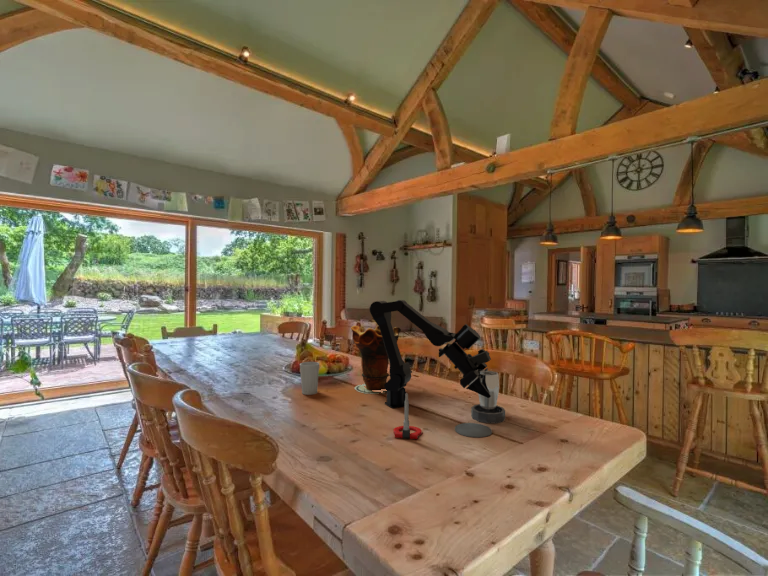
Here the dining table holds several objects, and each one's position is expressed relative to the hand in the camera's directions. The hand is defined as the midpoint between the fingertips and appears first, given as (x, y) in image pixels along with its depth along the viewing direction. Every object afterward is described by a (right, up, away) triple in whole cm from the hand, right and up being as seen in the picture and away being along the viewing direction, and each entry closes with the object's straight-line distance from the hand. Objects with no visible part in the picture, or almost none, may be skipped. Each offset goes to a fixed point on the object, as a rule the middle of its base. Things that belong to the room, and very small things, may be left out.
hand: (492, 393), depth 129 cm
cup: (-67, -8, +32) cm, 74 cm away
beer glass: (-1, -8, +1) cm, 9 cm away
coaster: (-9, -8, -11) cm, 16 cm away
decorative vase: (-40, -8, +38) cm, 56 cm away
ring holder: (-1, -8, +1) cm, 8 cm away
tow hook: (-29, -9, -13) cm, 33 cm away
